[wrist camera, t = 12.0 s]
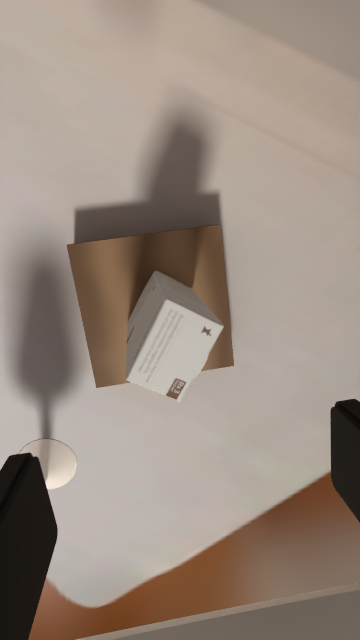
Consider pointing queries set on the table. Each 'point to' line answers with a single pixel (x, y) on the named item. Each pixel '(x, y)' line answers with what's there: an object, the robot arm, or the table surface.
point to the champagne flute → (53, 461)
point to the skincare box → (169, 337)
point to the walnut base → (129, 282)
